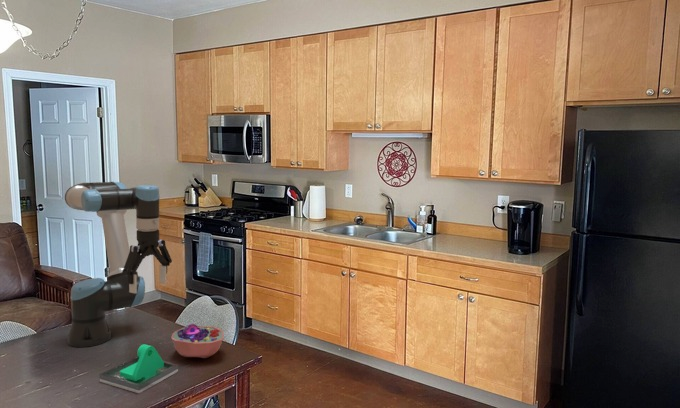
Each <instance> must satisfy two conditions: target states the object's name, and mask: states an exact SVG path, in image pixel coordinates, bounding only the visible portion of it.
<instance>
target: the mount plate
mask: <svg viewBox="0 0 680 408" xmlns="http://www.w3.org/2000/svg"><path fill="white" fill-rule="evenodd" d="M138 360H139V357H138V355H136V357H133V358H131V359H129V360H127V361H125V362H123V363H121V364H119V365H117V366H114V367H112V368H110V369H107V370H106V371H104V372H102V373H99V382H100V383H103V384H106V385H109V386H113V387H116V388H119V389H122V390H125V391H128V392H133V393H136V394H138V395H139V394H141V393H143V392H144V391H146V390H148V389H150V388H151V387H154V386H155V385H157V384H159V383H160V382H162V381H164V380H166V379H167V378H169V377H171V376H173V375H175V374H177V373H178V372H179V364H177V363H172V362H168V361H166V360H163V361H164V367H162V368H160V369H158V370H156V374H154V375H153V376H151V377H149V378H147V379H139V380H137V381H134V380H131V379H127V378H124V377H121V376H120V370H122V369H124V368H126V367H129V366H131V365H133V364H135V363H137V362H138Z"/></svg>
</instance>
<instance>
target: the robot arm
mask: <svg viewBox="0 0 680 408" xmlns="http://www.w3.org/2000/svg"><path fill="white" fill-rule="evenodd" d="M159 189H160V188H159V187H158V186H157V185H152V184H144V185H143V184H140V185H137V186H136V187H135V186H134V187H130V188H127V186H126V185H125V184H124V183H123V182H121V181H118V182H117V181H105V182H104V181H103V182H97V181H96V182H81V183H77V184H74V185H72V186H70V187H69V188H68V189H67V190H66V192H65V193H64V201H65V204H66V205H67V206H68V207H69V208H71V209H74V210H76V211H84V212H86V213H88V212H93V213H94V212H95V213H96V215H97V217H98V218H101V222H102V229H103V234H104V235H103V236H104V241H105V248H106V249H105V250H106V254H107V260H108V261H107V262H108V268H109V273H108V276H106V281H105V279H103V278H102V277H96V278H95V277H94V278H87V279H83V280H80V281H78V282H76V283H74V284H73V285H72V287H71V289H70V308H71V324H70V328H69V333H68V334H67V338H66V339H67V345H68V346H70V347H76V348H87V347H92V346H93V347H94V346H98V345H101V344H104V343H106V342H108V341H109V340H111V337H112V336H111V334H112V333H111V330H110V327H109V324H108V321H107V320H106V319H107V318H106V312H110V311H116V310H120V309H126V308H132V307H136V306H139V305H141V304H142V303H143V301H144V299H145V295H146V294H145V293H146V282H145V280H144V277H143V276H141V275H139V274H138V271H137V270H138V269H139V267H140V265H141V263H142V262H143V261H144V259H146V257H149V256H153V257H155V259H156V260H157V261H158V262H159V263H160V265H159V266H158V267H159V268H158V269H159V271H158V272H159V274H158V276H159V278H158V279H159V283H160V284H164V285H166V284H167V274H168V267H169V266H170V264H171V263H172V260H173V259H172V258H171V255H170V253H169V250H168V248H167V245H166V240H164V239H160V229H159V228H160V190H159ZM127 210H136V212H135V213H136V216H135V217H136V225H135V226H136V229H137V230H136V240H137V245H129V239H128V238H129V237H128V234H127V227H126V223H125V220H126V219H125V216H124V215H125V214H126V213H127Z"/></svg>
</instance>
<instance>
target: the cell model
mask: <svg viewBox="0 0 680 408" xmlns="http://www.w3.org/2000/svg"><path fill="white" fill-rule="evenodd" d="M170 338H171V339H172V342H173V347H174V349H175V351H176V352H177V353H178V354H179V355H180V356H182V357H183V358H184V357H185V358H199V359H200V358H202V359H208V358H210V357H212V356H213V355H215V354H217V352H218V351H219V350H220V347H221V345H222V343H223V339H224V331H223V330H221V329H219V328H218V327H215V326H204V325H196V324H195V323H194V324H193V323H190V324H188V325H186V326H184V327H182V328H179V329H177V330H175V331H174V332H172V334H171V337H170Z"/></svg>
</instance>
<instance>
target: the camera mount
mask: <svg viewBox="0 0 680 408" xmlns="http://www.w3.org/2000/svg"><path fill="white" fill-rule="evenodd" d="M136 354H137V355H136V356H138V357H139V360H138V362H137V363H135V364H133V365H131V366H129V367H126V368H124V369H122V370H120V376H121V377H124V378H127V379H131V380H134V381H137V380H139V379H147V378H149V377H151V376H153V375H154V374H156V370H158V369H160V368H162V367H164V361H165V360H163V359H162V357H161V355H160V353H158V351H157V349H156V348H155V346H153V345H148V344H145V343H144V344H141V345H140V346H139V347H138V349H137V353H136Z"/></svg>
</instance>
